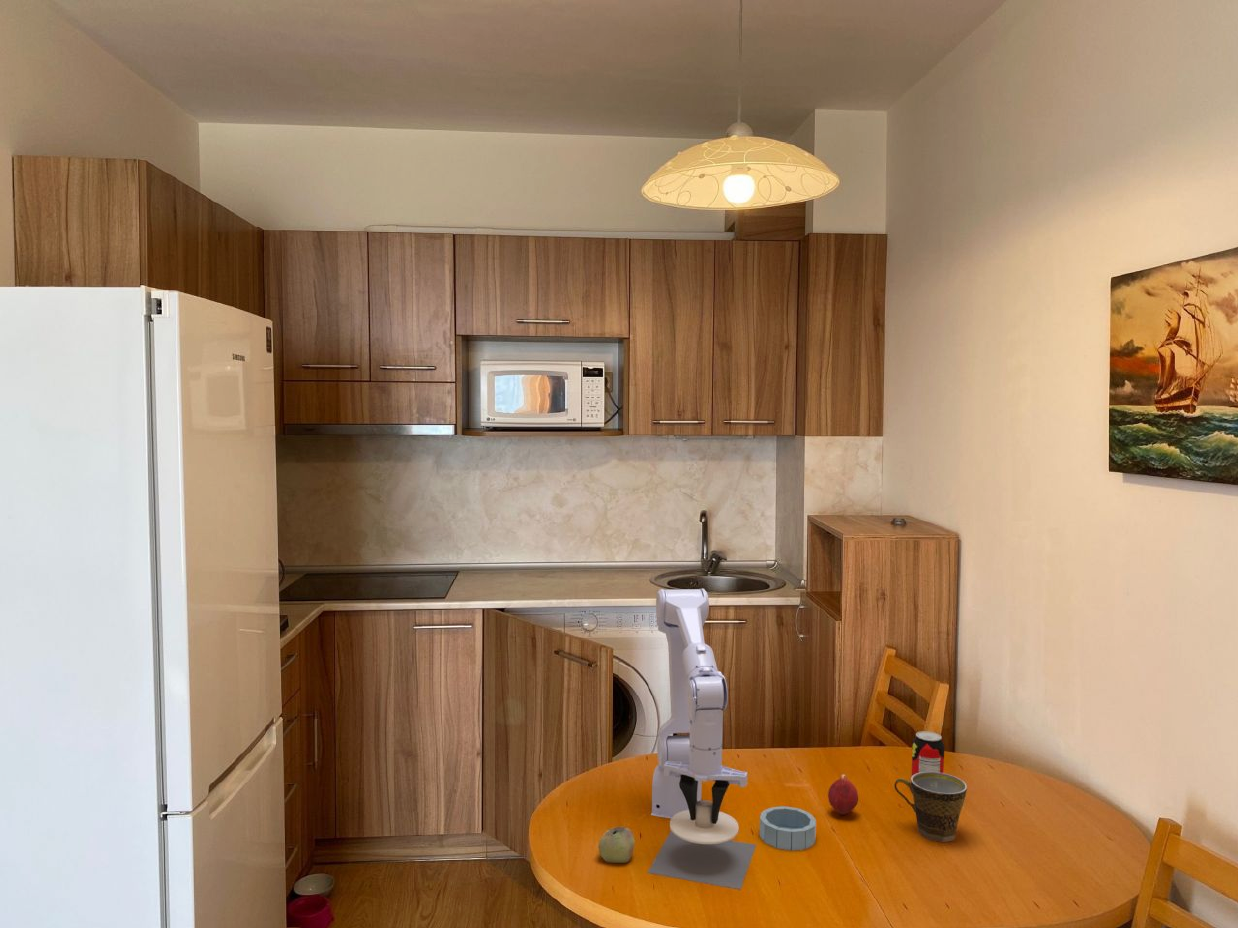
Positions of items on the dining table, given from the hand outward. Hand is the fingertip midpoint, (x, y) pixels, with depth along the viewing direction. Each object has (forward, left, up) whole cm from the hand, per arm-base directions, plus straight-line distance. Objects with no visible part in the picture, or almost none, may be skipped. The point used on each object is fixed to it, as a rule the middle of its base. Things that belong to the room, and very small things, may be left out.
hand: (704, 819), depth 158 cm
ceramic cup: (+38, +25, -8) cm, 46 cm away
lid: (0, 0, -1) cm, 1 cm away
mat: (0, 0, -8) cm, 8 cm away
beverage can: (+38, +44, -8) cm, 59 cm away
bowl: (+13, +13, -8) cm, 20 cm away
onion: (+22, +27, -8) cm, 36 cm away
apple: (-14, -5, -8) cm, 17 cm away
